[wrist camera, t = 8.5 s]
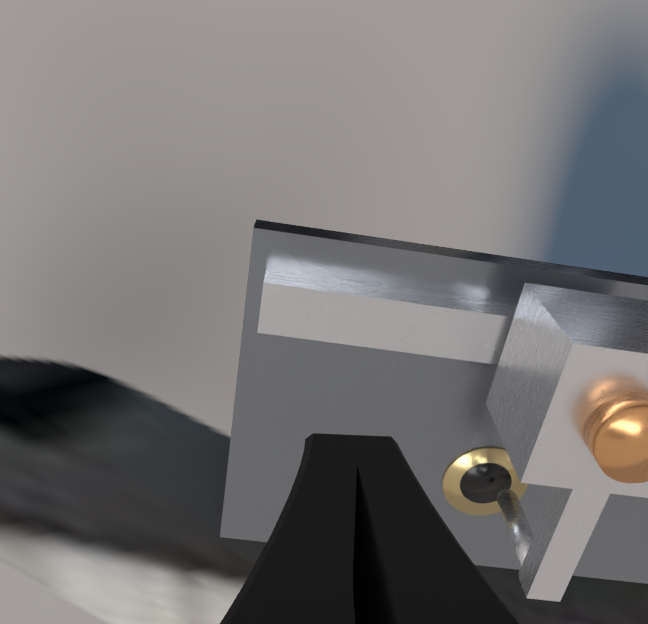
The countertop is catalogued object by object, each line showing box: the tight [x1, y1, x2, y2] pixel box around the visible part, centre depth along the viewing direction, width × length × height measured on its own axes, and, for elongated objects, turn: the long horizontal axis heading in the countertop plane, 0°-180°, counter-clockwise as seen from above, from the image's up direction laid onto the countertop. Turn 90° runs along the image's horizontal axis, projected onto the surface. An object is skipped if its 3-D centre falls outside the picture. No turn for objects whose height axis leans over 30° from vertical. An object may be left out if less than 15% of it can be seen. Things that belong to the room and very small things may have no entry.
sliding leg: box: [486, 283, 648, 602], centre depth 17 cm, size 4×8×5 cm, turn 171°
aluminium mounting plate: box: [220, 220, 648, 584], centre depth 18 cm, size 20×12×6 cm, turn 81°
